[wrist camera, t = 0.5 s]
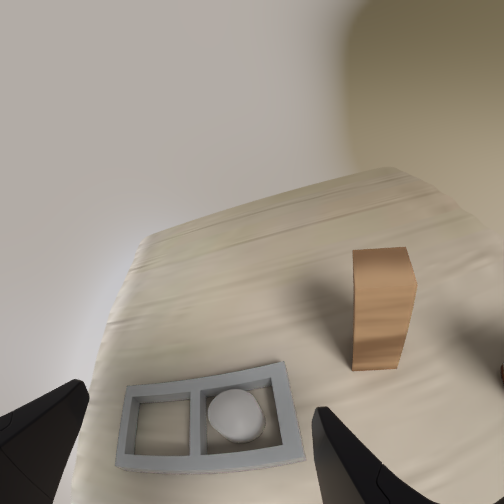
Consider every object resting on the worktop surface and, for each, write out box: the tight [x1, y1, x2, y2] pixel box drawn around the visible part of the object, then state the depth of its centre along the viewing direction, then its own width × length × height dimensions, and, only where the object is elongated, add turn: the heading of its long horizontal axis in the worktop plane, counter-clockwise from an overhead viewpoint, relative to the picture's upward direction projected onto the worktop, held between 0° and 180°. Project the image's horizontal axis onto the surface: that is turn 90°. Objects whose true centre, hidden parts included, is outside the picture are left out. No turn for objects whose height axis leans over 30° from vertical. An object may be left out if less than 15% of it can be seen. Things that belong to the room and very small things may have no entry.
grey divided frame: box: [115, 361, 306, 474], centre depth 21 cm, size 10×18×3 cm, turn 96°
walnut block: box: [352, 247, 417, 371], centre depth 22 cm, size 4×4×11 cm
